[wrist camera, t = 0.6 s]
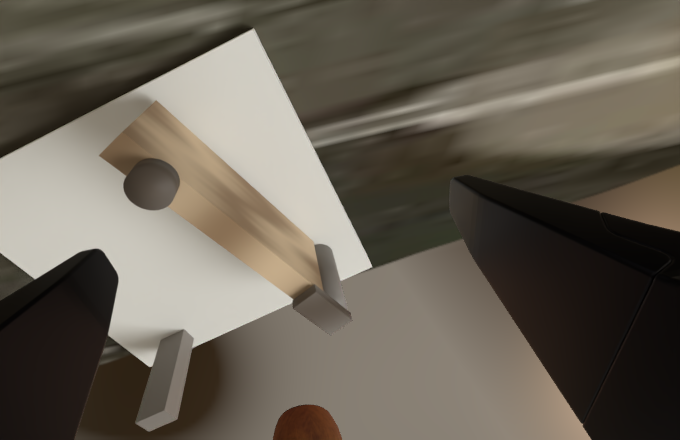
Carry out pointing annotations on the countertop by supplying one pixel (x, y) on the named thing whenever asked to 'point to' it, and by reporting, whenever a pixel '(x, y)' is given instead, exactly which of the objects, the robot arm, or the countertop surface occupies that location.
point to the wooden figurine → (306, 424)
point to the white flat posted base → (166, 225)
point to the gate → (220, 208)
